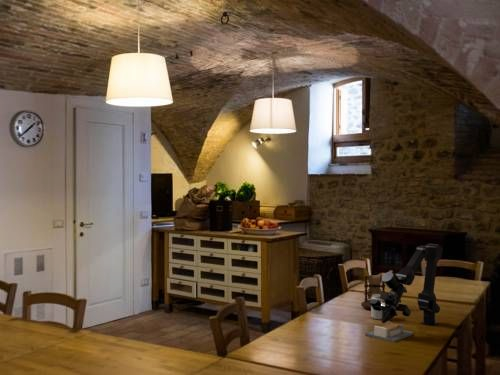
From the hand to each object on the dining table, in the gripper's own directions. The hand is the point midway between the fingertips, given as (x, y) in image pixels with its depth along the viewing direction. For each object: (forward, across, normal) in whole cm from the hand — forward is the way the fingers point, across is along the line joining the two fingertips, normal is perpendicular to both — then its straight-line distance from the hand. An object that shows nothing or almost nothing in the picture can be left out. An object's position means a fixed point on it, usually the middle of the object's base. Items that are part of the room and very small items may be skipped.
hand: (382, 322), depth 246 cm
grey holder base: (+1, 0, +8) cm, 9 cm away
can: (-15, -20, +25) cm, 35 cm away
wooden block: (-5, 0, +10) cm, 11 cm away
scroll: (-27, -33, +37) cm, 57 cm away
